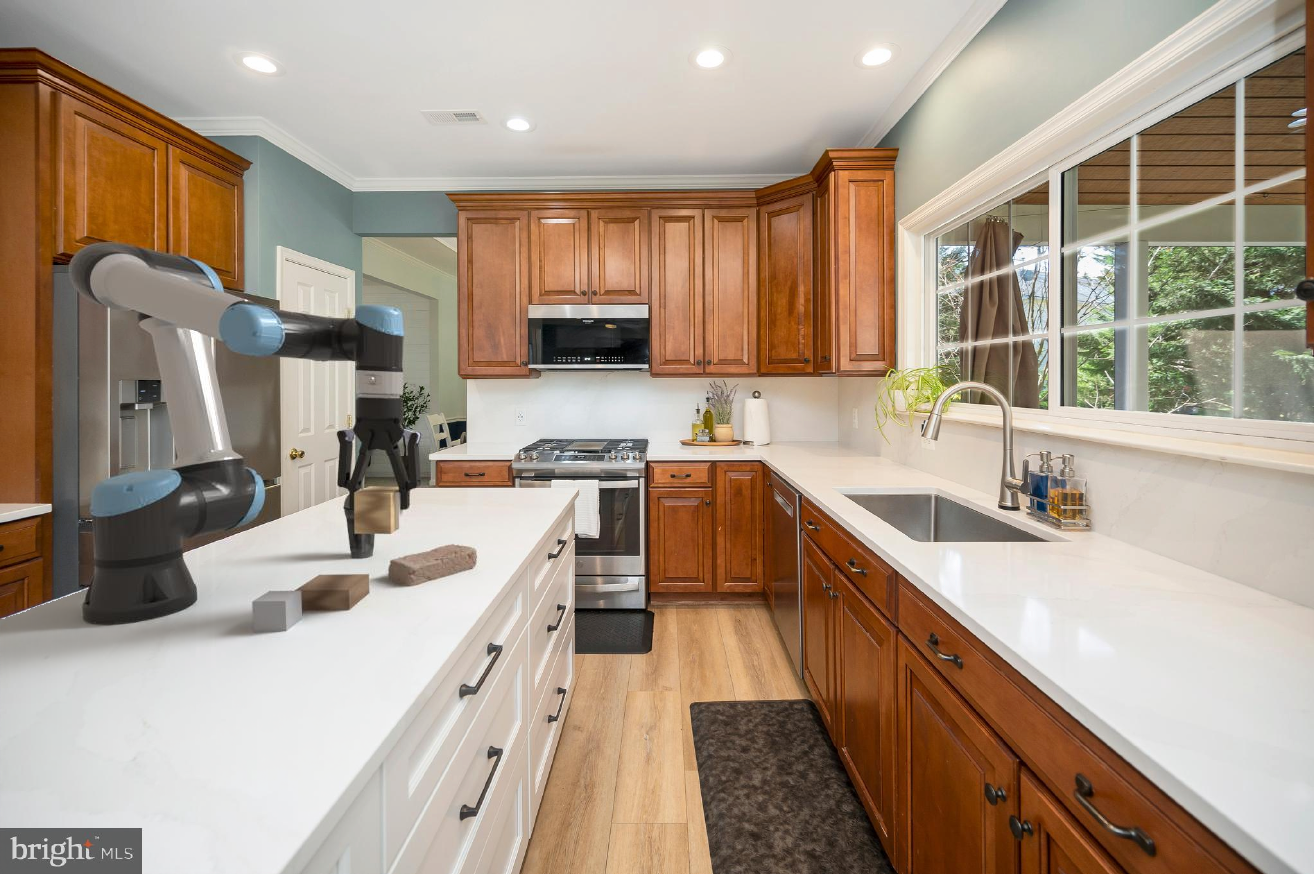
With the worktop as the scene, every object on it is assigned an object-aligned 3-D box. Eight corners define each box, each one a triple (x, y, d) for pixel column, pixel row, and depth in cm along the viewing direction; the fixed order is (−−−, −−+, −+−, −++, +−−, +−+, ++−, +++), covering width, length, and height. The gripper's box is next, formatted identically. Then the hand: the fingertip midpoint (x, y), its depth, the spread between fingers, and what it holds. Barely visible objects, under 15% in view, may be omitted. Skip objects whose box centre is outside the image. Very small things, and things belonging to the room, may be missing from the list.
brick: (411, 588, 118) (410, 564, 118) (386, 580, 123) (385, 557, 123) (478, 569, 132) (478, 548, 132) (453, 562, 137) (453, 542, 136)
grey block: (253, 632, 96) (252, 601, 95) (270, 620, 101) (269, 591, 100) (286, 631, 96) (285, 600, 96) (302, 619, 101) (301, 590, 101)
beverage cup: (337, 559, 137) (334, 471, 135) (358, 550, 144) (356, 467, 143) (366, 560, 136) (364, 472, 134) (386, 552, 143) (384, 468, 141)
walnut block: (295, 612, 105) (294, 590, 105) (319, 595, 114) (319, 574, 113) (349, 611, 106) (348, 589, 105) (369, 594, 115) (369, 574, 114)
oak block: (354, 533, 103) (354, 493, 103) (370, 524, 110) (370, 486, 110) (390, 533, 104) (390, 493, 103) (404, 524, 111) (404, 486, 110)
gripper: (312, 394, 101) (313, 531, 102) (429, 398, 102) (428, 533, 104) (332, 394, 108) (333, 521, 110) (441, 397, 110) (440, 523, 112)
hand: (379, 527), depth 107 cm, fingers closed on oak block, 6 cm apart
